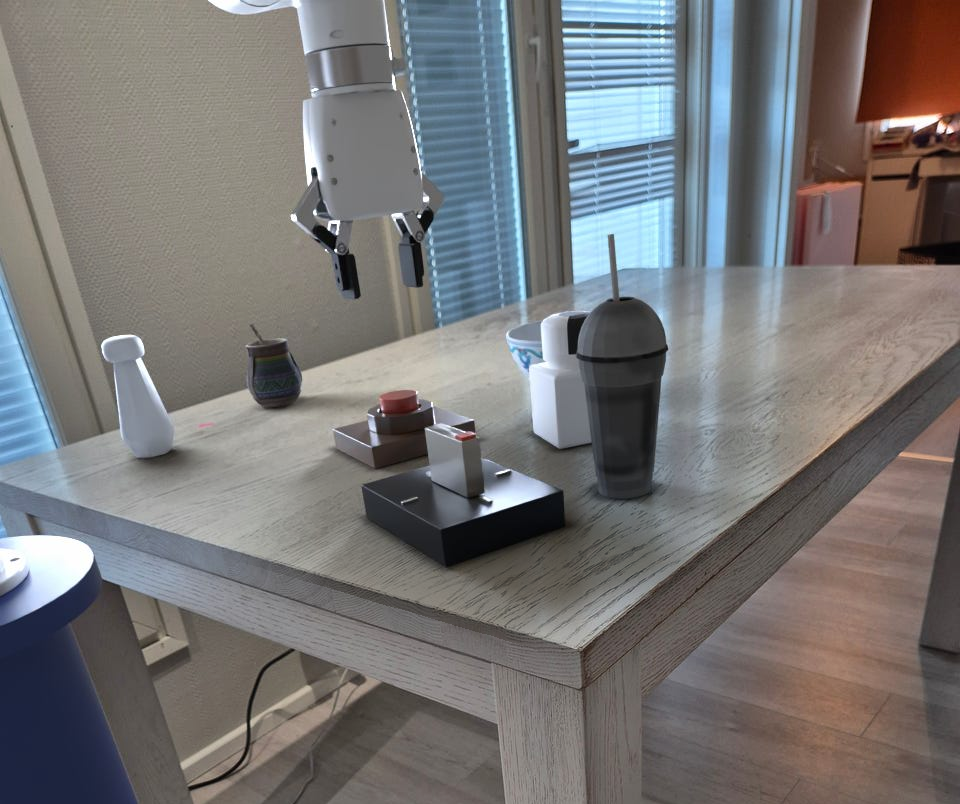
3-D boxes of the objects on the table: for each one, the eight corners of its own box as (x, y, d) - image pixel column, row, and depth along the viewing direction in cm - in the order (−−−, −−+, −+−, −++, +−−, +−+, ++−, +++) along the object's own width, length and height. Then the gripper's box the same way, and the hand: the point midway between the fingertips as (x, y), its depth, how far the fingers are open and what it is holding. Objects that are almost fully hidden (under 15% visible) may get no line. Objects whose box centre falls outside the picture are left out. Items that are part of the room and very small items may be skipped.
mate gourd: (272, 413, 112) (255, 332, 107) (240, 407, 116) (221, 330, 111) (316, 399, 116) (301, 321, 111) (283, 394, 121) (267, 319, 116)
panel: (445, 567, 64) (440, 527, 62) (366, 517, 74) (360, 482, 73) (565, 526, 68) (563, 488, 67) (474, 485, 79) (471, 451, 77)
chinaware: (552, 376, 113) (548, 314, 110) (657, 382, 105) (657, 315, 101) (487, 406, 103) (480, 340, 99) (598, 415, 95) (595, 343, 91)
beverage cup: (610, 511, 70) (601, 242, 60) (567, 487, 76) (553, 239, 66) (685, 491, 72) (688, 228, 62) (637, 469, 78) (634, 226, 68)
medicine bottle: (594, 421, 93) (589, 304, 87) (623, 437, 87) (621, 312, 81) (532, 433, 91) (523, 314, 86) (558, 450, 85) (551, 323, 80)
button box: (375, 468, 86) (368, 429, 84) (336, 448, 94) (329, 412, 92) (476, 440, 91) (472, 402, 89) (431, 423, 99) (427, 388, 97)
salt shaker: (185, 451, 100) (152, 334, 93) (135, 463, 97) (98, 344, 91) (170, 441, 104) (138, 329, 98) (122, 453, 101) (86, 339, 95)
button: (391, 419, 89) (389, 401, 88) (375, 412, 92) (372, 395, 91) (426, 410, 90) (423, 393, 89) (408, 404, 93) (406, 387, 92)
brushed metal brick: (431, 480, 72) (423, 424, 70) (447, 475, 72) (441, 420, 70) (467, 498, 67) (461, 438, 65) (485, 493, 68) (479, 433, 66)
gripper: (417, 76, 83) (440, 276, 92) (244, 88, 76) (287, 304, 85) (456, 65, 77) (476, 280, 86) (273, 77, 70) (316, 310, 79)
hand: (382, 290), depth 85 cm, fingers open, 6 cm apart
